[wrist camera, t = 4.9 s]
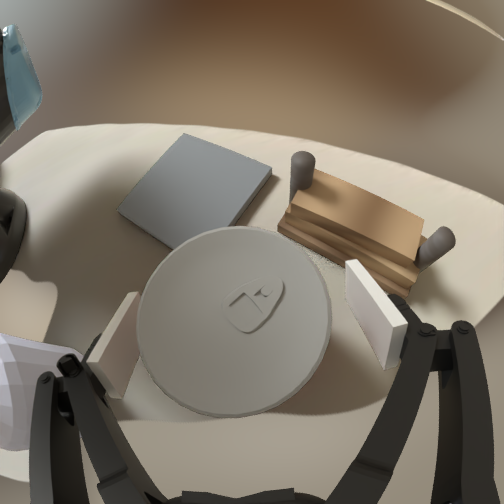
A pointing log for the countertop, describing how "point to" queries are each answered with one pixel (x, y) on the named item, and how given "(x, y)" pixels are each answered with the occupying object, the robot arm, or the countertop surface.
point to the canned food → (234, 322)
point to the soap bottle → (23, 385)
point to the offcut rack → (359, 227)
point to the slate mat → (193, 191)
